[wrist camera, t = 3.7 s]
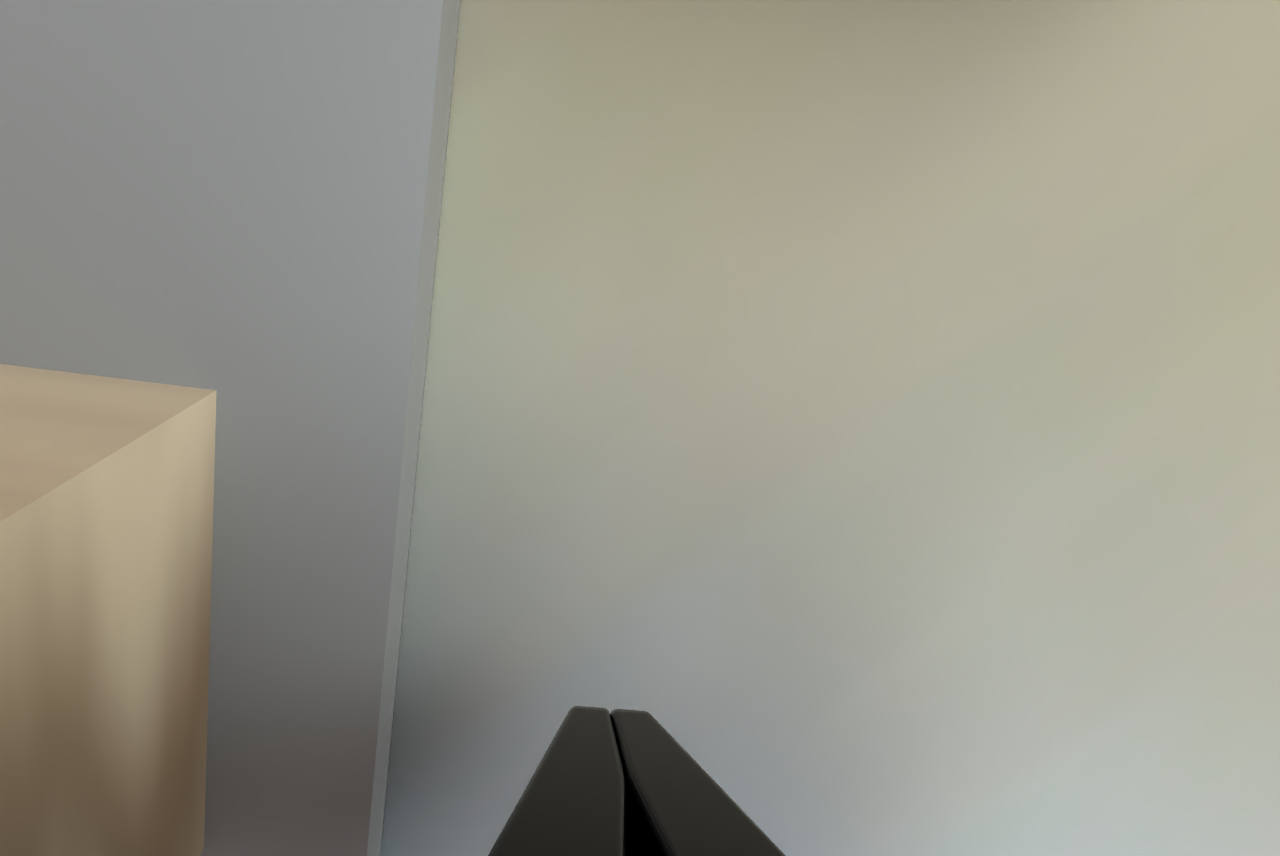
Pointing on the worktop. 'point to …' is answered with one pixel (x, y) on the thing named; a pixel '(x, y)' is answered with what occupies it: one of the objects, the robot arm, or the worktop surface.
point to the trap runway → (252, 336)
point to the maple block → (104, 613)
